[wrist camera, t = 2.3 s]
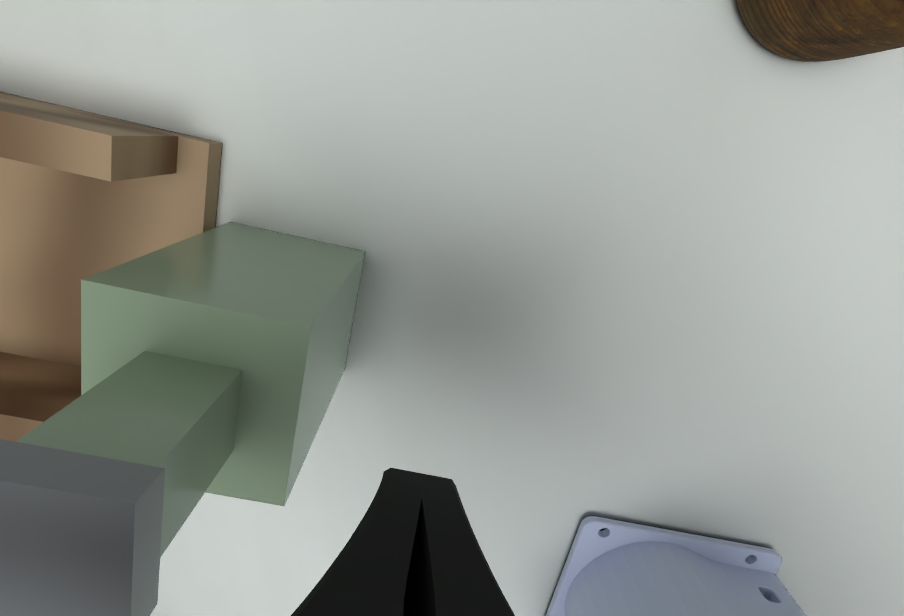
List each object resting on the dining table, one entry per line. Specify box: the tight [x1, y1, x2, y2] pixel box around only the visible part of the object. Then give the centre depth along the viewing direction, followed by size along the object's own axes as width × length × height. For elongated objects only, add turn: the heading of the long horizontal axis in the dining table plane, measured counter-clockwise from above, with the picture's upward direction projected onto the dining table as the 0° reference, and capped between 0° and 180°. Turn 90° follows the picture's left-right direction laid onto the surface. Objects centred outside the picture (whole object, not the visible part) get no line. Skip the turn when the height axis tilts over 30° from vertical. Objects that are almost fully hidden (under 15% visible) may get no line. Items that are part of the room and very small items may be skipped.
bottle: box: [0, 222, 365, 616], centre depth 13 cm, size 5×5×13 cm
